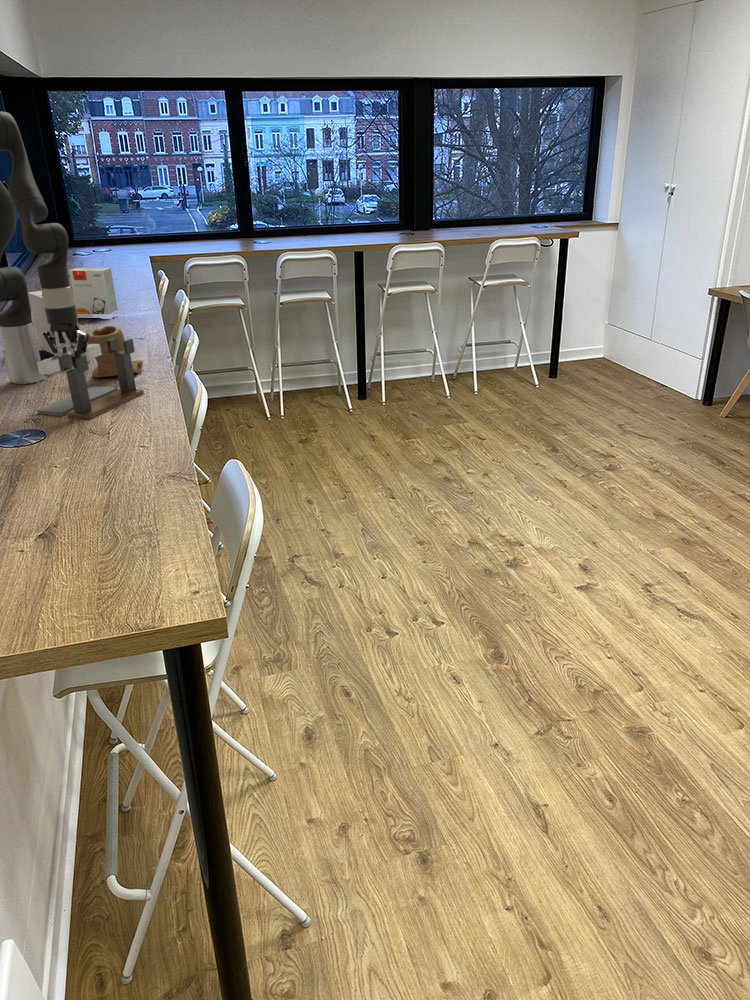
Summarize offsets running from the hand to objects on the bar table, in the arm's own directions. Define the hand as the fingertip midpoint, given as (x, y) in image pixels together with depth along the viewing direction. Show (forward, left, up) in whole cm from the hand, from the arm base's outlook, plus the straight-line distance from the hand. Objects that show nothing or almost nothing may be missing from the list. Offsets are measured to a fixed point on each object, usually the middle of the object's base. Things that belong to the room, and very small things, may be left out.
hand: (72, 368), depth 204 cm
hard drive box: (-74, +100, -10) cm, 125 cm away
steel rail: (0, 0, +1) cm, 1 cm away
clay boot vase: (-7, +26, -10) cm, 29 cm away
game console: (-44, +43, -10) cm, 62 cm away
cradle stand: (+9, 0, -9) cm, 13 cm away
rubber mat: (0, 0, -9) cm, 9 cm away
